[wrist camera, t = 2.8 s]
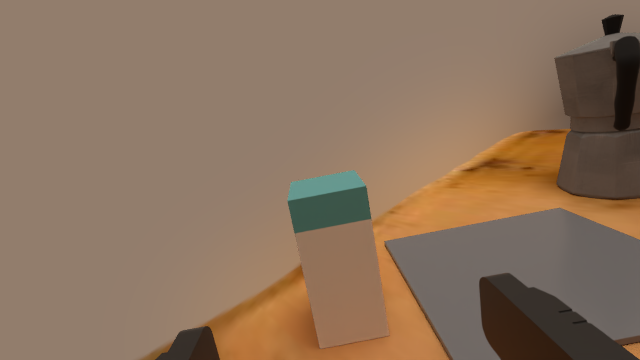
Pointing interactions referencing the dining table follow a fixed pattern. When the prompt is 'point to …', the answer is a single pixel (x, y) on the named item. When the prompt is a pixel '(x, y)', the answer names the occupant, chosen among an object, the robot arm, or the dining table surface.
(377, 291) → the block
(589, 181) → the coffeepot
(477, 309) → the board
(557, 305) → the robot arm
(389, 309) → the dining table surface
